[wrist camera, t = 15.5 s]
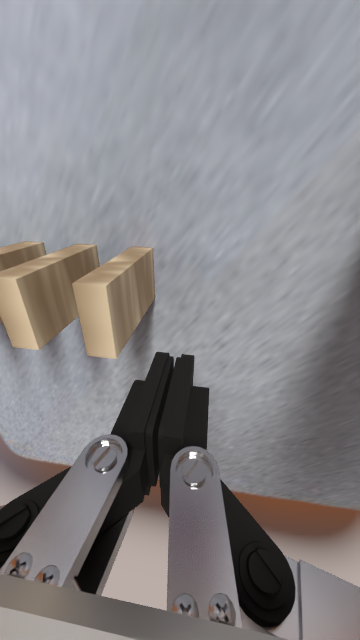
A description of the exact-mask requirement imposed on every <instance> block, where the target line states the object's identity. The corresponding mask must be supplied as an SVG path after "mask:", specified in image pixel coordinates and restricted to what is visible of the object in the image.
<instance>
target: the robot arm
mask: <svg viewBox="0 0 360 640" xmlns="http://www.w3.org/2000/svg"><path fill="white" fill-rule="evenodd" d="M193 372H194V355H184V354H182V356H181V358H180V357H177V358H176V362H175V366H174V358H173V357H170V356H169V353H163V352H156V354H155V357H154V359H153V362H152V364H151V367H150V370H149V372H148V375H147V377H146V380H145V381H142V380H135V381H134V383H133V385H132V387H131V389H130V392H129V394H128V396H127V398H126V400H125V403H124V405H123V407H122V409H121V412H120V414H119V416H118V418H117V421H116V423H115V425H114V427H113V430H112V432H111V434H109V435H102V436H100V437H97V438H95V439H94V440H93V441H91V442H90V443H89V444H88V445H87V446H86V447H85V448H84V450H83V451H82V453H81V454H80V455H79V457H78V458H77V460H76V461H75V463H74V464H73V466H71V467H69V468H68V469H66V470H64V471H62V472H61V473H59V474H57V475H55V476H54V477H52V478H50V479H49V480H47V481H45V482H44V483H42V484H40V485H38V486H37V487H35V488H33V489H31V490H30V491H28V492H26V493H24V494H23V495H21V496H19V497H18V498H16V499H14V500H13V501H11V502H9V503H8V504H7V505H4V506H0V640H360V587H358V586H355V585H353V584H351V583H349V582H347V581H345V580H343V579H340V578H339V577H336V576H334V575H332V574H330V573H328V572H326V571H324V570H322V569H319V568H317V567H315V566H313V565H311V564H309V563H307V562H305V561H303V560H300V561H299V562H297V561H295V560H293V559H291V558H289V557H287V556H284V555H283V553H282V552H281V551H280V549H279V548H278V547H277V546H276V544H275V543H274V542H273V541H272V540H271V538H270V537H269V536H268V535H267V534H266V532H265V531H264V530H263V529H262V528H261V527H260V525H259V524H258V523H257V522H256V521H255V519H254V518H253V517H252V516H251V515H250V513H249V512H248V511H247V510H246V509H245V508H244V507H243V505H242V504H241V503H240V502H239V500H238V499H237V498H236V497H235V496H234V495H233V493H232V492H231V491H230V490H229V489H228V487H227V486H226V485H225V484H224V483H223V481H222V480H221V479H220V475H219V469H218V465H217V462H216V460H215V459H214V457H213V456H212V454H210V453H209V452H208V451H207V428H208V405H209V388H205V387H196V386H193ZM158 475H159V477H160V487H161V505H162V507H163V508H164V510H165V512H166V513H167V515H168V517H169V547H168V585H167V587H168V588H167V611H165V610H161V609H156V608H152V607H148V606H143V605H139V604H134V603H130V602H125V601H120V600H117V599H112V598H108V597H103V596H101V594H102V592H103V589H104V587H105V584H106V581H107V579H108V576H109V574H110V571H111V569H112V566H113V564H114V561H115V558H116V556H117V554H118V551H119V549H120V546H121V544H122V541H123V539H124V536H125V533H126V531H127V528H128V526H129V523H130V521H131V518H132V515H133V513H134V509H135V507H137V506H138V505H139V504H140V503H142V502H143V499H144V495H149V493H150V488H151V486H156V484H157V480H158Z"/></svg>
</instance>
